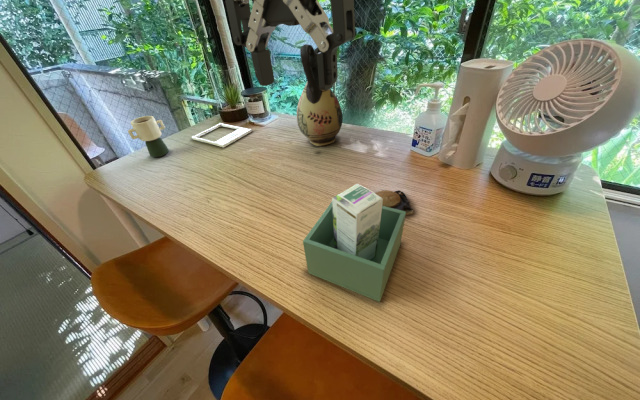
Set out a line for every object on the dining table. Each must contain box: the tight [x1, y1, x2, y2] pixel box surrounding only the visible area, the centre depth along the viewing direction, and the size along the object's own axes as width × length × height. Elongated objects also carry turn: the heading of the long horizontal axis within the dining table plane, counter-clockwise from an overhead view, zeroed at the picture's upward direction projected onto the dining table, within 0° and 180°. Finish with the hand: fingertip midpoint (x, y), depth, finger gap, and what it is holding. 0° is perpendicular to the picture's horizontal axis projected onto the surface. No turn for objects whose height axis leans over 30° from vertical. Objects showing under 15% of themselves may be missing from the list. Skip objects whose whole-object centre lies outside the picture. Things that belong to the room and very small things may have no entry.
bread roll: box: [374, 189, 414, 216], centre depth 59 cm, size 11×8×4 cm
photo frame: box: [191, 122, 252, 148], centre depth 100 cm, size 15×1×18 cm
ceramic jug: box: [296, 43, 344, 147], centre depth 80 cm, size 17×15×30 cm
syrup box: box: [331, 183, 383, 261], centre depth 44 cm, size 6×6×14 cm
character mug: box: [127, 115, 170, 158], centre depth 88 cm, size 11×7×13 cm, turn 137°
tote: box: [302, 194, 407, 303], centre depth 46 cm, size 14×14×9 cm
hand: (295, 86), depth 30 cm, fingers open, 8 cm apart
